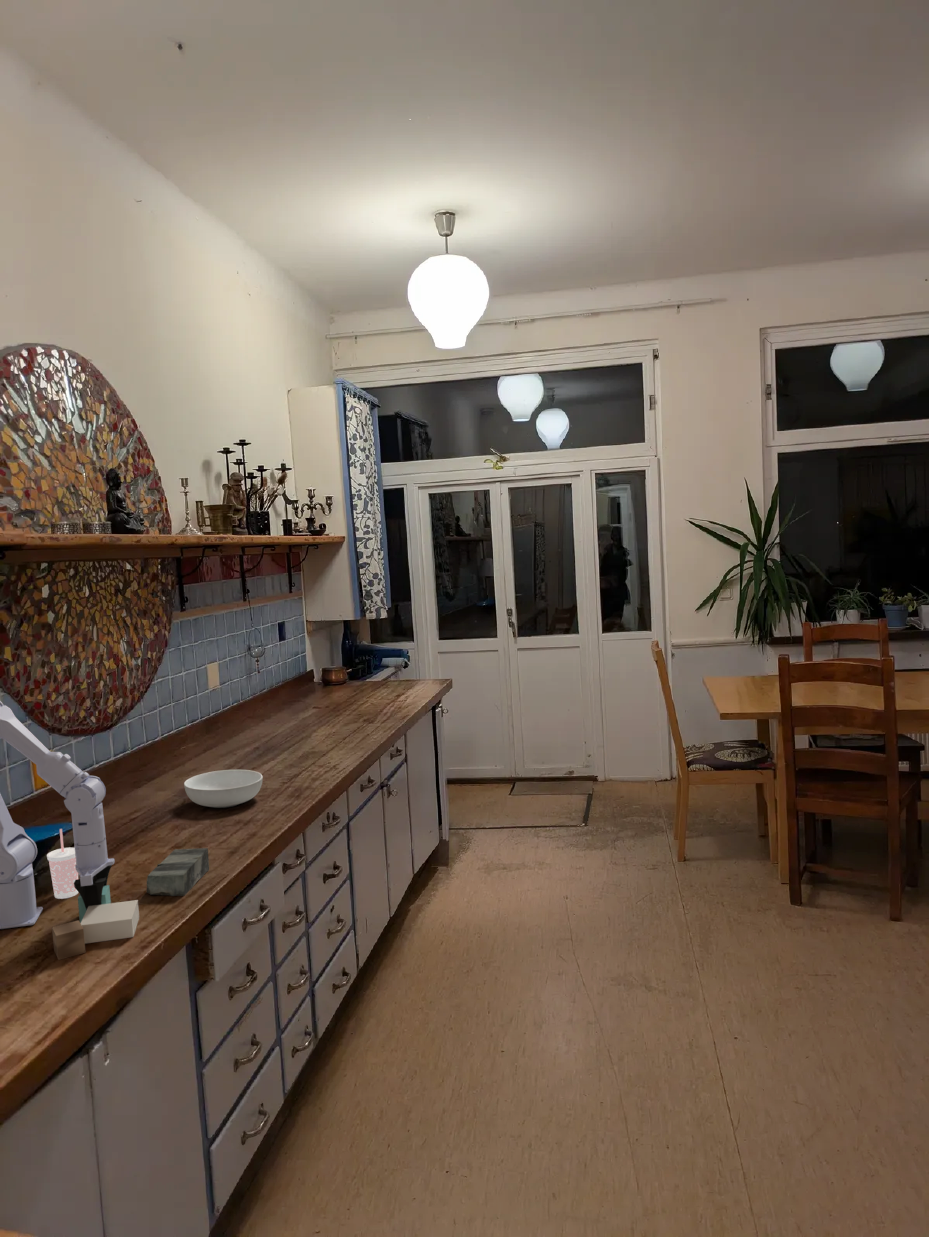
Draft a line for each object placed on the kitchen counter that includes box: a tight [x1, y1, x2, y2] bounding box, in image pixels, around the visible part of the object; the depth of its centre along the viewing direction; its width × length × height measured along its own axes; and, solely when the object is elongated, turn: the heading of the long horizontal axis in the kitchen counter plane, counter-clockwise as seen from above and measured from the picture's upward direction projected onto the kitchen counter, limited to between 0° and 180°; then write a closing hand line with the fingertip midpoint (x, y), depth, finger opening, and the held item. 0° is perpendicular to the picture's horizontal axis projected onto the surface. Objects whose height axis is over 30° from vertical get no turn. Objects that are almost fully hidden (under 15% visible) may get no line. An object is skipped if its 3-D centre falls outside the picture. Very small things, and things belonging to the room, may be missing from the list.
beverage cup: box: [46, 828, 79, 900], centre depth 189 cm, size 6×6×14 cm
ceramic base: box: [80, 899, 140, 944], centre depth 171 cm, size 9×9×4 cm
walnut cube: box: [51, 919, 86, 961], centre depth 163 cm, size 4×4×4 cm
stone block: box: [146, 847, 210, 897], centre depth 194 cm, size 9×14×5 cm, turn 175°
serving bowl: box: [183, 769, 264, 809], centre depth 250 cm, size 21×21×7 cm
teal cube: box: [77, 884, 112, 924], centre depth 178 cm, size 5×5×5 cm
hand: (96, 907), depth 178 cm, fingers closed on teal cube, 5 cm apart
